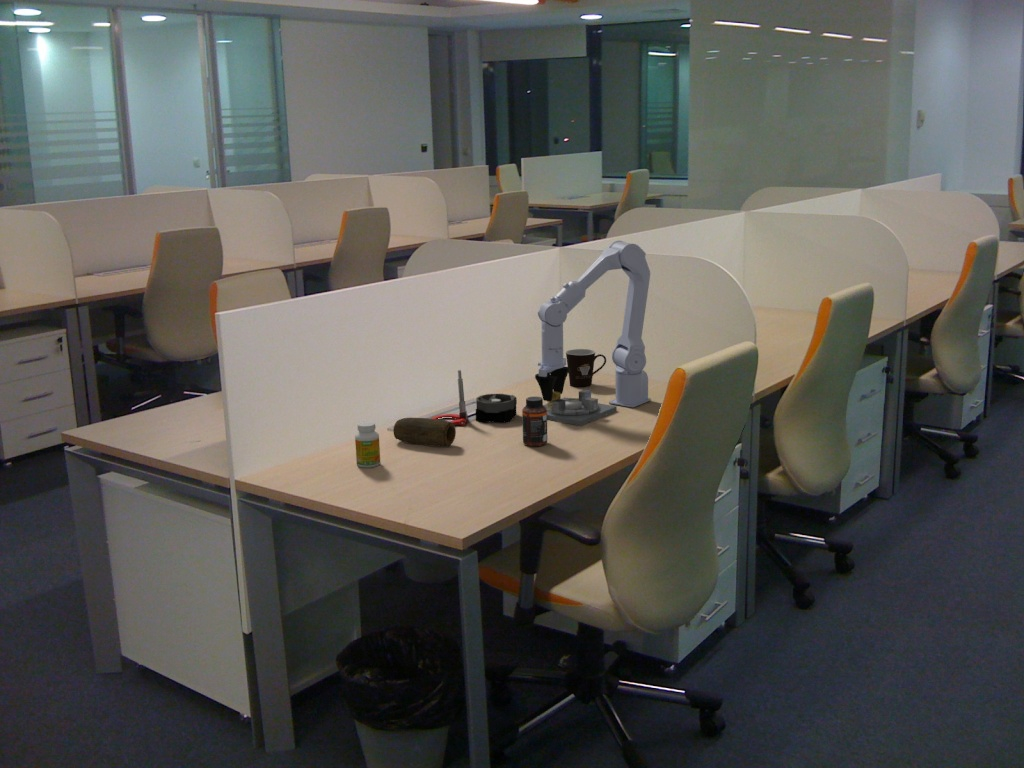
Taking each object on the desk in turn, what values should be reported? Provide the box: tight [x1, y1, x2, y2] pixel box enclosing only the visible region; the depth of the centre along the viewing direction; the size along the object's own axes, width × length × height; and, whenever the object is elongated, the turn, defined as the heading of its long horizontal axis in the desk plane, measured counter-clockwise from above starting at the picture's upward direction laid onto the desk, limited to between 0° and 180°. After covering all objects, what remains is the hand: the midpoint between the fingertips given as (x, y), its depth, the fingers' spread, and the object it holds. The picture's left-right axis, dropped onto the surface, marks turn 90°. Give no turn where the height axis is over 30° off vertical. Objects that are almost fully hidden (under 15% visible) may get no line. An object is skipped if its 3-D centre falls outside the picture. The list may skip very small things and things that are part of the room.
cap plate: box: [543, 396, 618, 427], centre depth 264 cm, size 17×17×3 cm
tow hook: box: [429, 369, 469, 427], centre depth 258 cm, size 9×14×10 cm
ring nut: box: [546, 388, 599, 416], centre depth 264 cm, size 15×15×4 cm
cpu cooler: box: [475, 393, 518, 424], centre depth 261 cm, size 10×6×10 cm
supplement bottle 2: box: [521, 396, 549, 448], centre depth 238 cm, size 6×6×11 cm
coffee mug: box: [565, 348, 607, 389], centre depth 292 cm, size 12×9×10 cm
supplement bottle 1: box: [354, 420, 381, 469], centre depth 226 cm, size 5×5×10 cm
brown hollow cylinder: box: [393, 417, 457, 447], centre depth 241 cm, size 15×7×7 cm, turn 68°
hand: (552, 397), depth 266 cm, fingers open, 7 cm apart
